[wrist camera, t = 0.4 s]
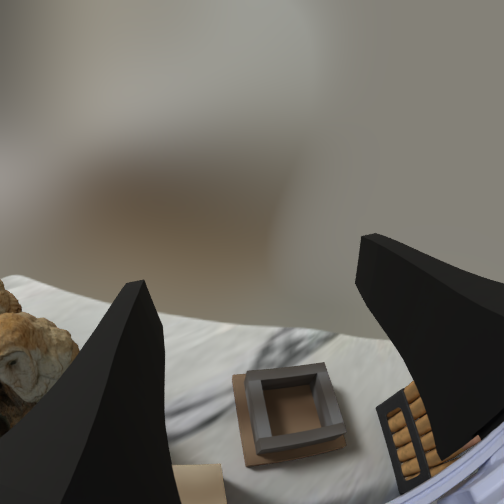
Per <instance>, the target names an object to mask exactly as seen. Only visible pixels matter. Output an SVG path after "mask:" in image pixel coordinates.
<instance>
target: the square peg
mask: <svg viewBox="0 0 504 504" xmlns="http://www.w3.org/2000/svg"><path fill="white" fill-rule="evenodd" d="M172 468H173V472H174V477H175V481H176V485H177V489H178V492H179V496H180V500H181V503H182V504H227V501H226V495H225V488H224V482H223V476H222V469H221V464H204V465H172Z"/></svg>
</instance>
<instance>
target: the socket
mask: <svg viewBox="0 0 504 504" xmlns="http://www.w3.org/2000/svg"><path fill="white" fill-rule="evenodd" d="M232 382H233V389H234V396H235V403H236V410H237V416H238V423H239V429H240V435H241V441H242V447H243V453H244V459H245V465H246V467H249V466H257V465H265V464H271V463H278V462H283V461H289V460H294V459H299V458H304V457H308V456H313V455H317V454H321V453H325V452H329V451H333V450H337V449H340V448H343V447H345V446H347V445H346V442H345V438H344V435H343V434H345V433H346V432H347V431H346V428H345V425H344V422H343V418H342V415H341V412H340V409H339V406H338V403H337V399H336V396H335V393H334V390H333V387H332V384H331V381H330V378H329V375H328V372H327V369H326V366H325V363H324V362H323V363H316V364H308V365H301V366H293V367H284V368H274V369H264V370H251V371H247V373H246V374H237V375H233V377H232Z"/></svg>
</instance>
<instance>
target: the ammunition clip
mask: <svg viewBox="0 0 504 504" xmlns="http://www.w3.org/2000/svg"><path fill="white" fill-rule="evenodd" d="M411 403H412V404H411ZM401 410H402V411H401ZM376 411H377V414H378V417H379V420H380V424H381V427H382V430H383V434H384V437H385V440H386V444H387V447H388V451H389V455H390V458H391V462H392V466H393V469H394V473H395V477H396V481H397V485H398V489H399V493H400V494H401V495H403V494H405V493H407V492H408V491H410V490H412V489H414V488H415V487H417V486H419V485H420V484H422V483H424V482H425V481H427V480H429V479H430V478H432V477H433V476H435V475H436V474H438V473H439V472H441V471H442V470H444V469H445V468H447V467H448V466H449V465H451V464H452V463H454V462H455V461H456V460H458V459H459V458H460V457H459V458H456V459H453V460H451V461H448V460H450V459H452V458H454V457H456V456H457V455H459V454H460V453H461V452H463V451H465V450H467V449H468V448H470V447H472V446H474V445H475V444H477V443H478V442H480V441H481V439H480V437H479V435H477V436H476V437H475V438H474V439H472V440H471V441H470V442H468V443H467V444H466V445H464V446H463V447H462V448H460V449H459V450H458V451H456V452H455V453H453V454H452V455H451V456H449V457H448V458H446V459H445V460H443V461H441V459H440V458H439V456H438V454H437V451H436V446H435V441H434V437H433V433H432V430H431V426H430V422H429V419H428V416H427V413H426V410H425V407H424V405H423V402H422V399H421V397H420V394H419V392H418V390H417V387H416V385H415V383H414V381H412V382H411V383H410V384H409V385H408V386H407V387H405V388H403V389H401V390H400V391H398V392H397V393H396V394H394V395H393V396H391V397H390V398H389V399H387V400H386V401H384V402H383V403H381V404H380V405H378V406H377V407H376ZM418 418H420V419H418ZM416 419H418V420H417V421H415V420H416ZM405 426H407V427H405ZM404 427H405V428H404ZM424 434H425V435H424ZM422 435H424V436H422ZM420 436H422V437H420ZM411 441H412V442H411ZM409 442H410V443H409ZM429 450H430V451H429ZM427 451H429V452H427ZM425 452H427V453H425ZM414 457H415V458H414ZM446 461H448V462H446ZM443 462H446V463H443ZM431 467H433V468H431ZM429 468H431V469H429ZM418 472H420V473H418Z"/></svg>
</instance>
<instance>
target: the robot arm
mask: <svg viewBox="0 0 504 504" xmlns="http://www.w3.org/2000/svg"><path fill="white" fill-rule="evenodd" d="M355 284H356V286H357V288H358V290H359V292H360V294H361V296H362V298H363V300H364V302H365V303H366V305H367V307H368V308H369V310H370V311H371V313H372V314H373V316H374V317H375V319H376V320H377V321H378V323H379V324H380V326H381V327H382V328H383V330H384V331H385V333H386V334H387V336H388V337H389V339H390V340H391V341H392V343H393V344H394V346H395V347H396V349H397V350H398V352H399V353H400V355H401V357H402V358H403V360H404V362H405V364H406V366H407V368H408V370H409V372H410V374H411V376H412V378H413V380H414V383H415V385H416V387H417V390H418V392H419V394H420V397H421V399H422V402H423V405H424V407H425V410H426V413H427V416H428V419H429V422H430V426H431V430H432V433H433V437H434V441H435V446H436V451H437V454H438V456H439V458H440V459H441V461H443V460H445V459H446V458H448V457H449V456H451V455H452V454H453V453H455V452H456V451H458V450H459V449H460V448H462V447H463V446H464V445H466V444H467V443H468V442H470V441H471V440H472V439H474V438H475V437H476V436H477V435H479V437H480V439H481V440H482V441H480V442H479V443H478V444H477V445H476V446H474V447H473V448H472V449H471V450H469V451H468V452H467V453H466V454H464V455H463V456H462V457H460V458H459V459H458V460H456V461H455V462H454V463H452V464H451V465H449V466H448V467H447V468H445V469H444V470H442V471H441V472H439V473H438V474H436V475H435V476H433V477H432V478H430V479H429V480H427V481H425V482H424V483H422V484H420V485H419V486H417V487H415V488H414V489H412V490H410V491H408V492H407V493H405V494H403V495H401V496H399V497H397V498H396V499H394V500H392V501H390V502H388V503H386V504H429V503H431V502H433V501H434V500H436V499H437V498H439V497H440V496H442V495H443V494H444V493H446V492H447V491H448V492H447V493H446V494H445V495H444V496H442V497H441V498H440V499H439V500H438V501H437V504H504V284H503V283H500V282H496V281H493V280H490V279H487V278H484V277H481V276H478V275H475V274H472V273H469V272H466V271H464V270H461V269H459V268H457V267H454V266H452V265H450V264H447V263H445V262H442V261H440V260H438V259H435V258H433V257H431V256H429V255H427V254H424V253H422V252H420V251H418V250H416V249H414V248H411V247H409V246H407V245H405V244H403V243H400V242H398V241H396V240H393V239H391V238H388V237H386V236H383V235H380V234H377V233H374V234H369V235H365V236H361V243H360V251H359V259H358V266H357V273H356V280H355ZM164 386H165V346H164V335H163V325H162V323H161V321H160V318H159V316H158V313H157V311H156V309H155V306H154V304H153V301H152V299H151V296H150V294H149V291H148V289H147V286H146V283H145V281H144V280H140V281H135V282H129V283H126V284H125V286H124V287H123V288H122V290H121V291H120V293H119V294H118V296H117V297H116V299H115V300H114V302H113V303H112V305H111V306H110V308H109V309H108V311H107V312H106V314H105V315H104V317H103V318H102V320H101V321H100V323H99V324H98V326H97V327H96V329H95V330H94V332H93V333H92V335H91V336H90V337H89V339H88V340H87V342H86V343H85V345H84V346H83V348H82V349H81V350H80V352H79V353H78V355H77V356H76V357H75V359H74V360H73V361H72V363H71V364H70V365H69V367H68V368H67V369H66V370H65V372H64V373H63V374H62V375H61V377H60V378H59V379H58V380H57V382H56V383H55V384H54V385H53V386H52V387H51V388H50V390H49V391H48V392H47V393H46V394H45V395H44V396H43V397H42V398H41V399H40V401H39V402H38V403H37V404H36V405H35V406H34V407H33V408H32V409H31V410H30V411H29V412H28V413H27V414H26V415H25V416H24V417H23V418H22V419H21V420H20V421H19V422H18V423H17V424H16V425H15V426H13V427H12V428H11V429H10V430H9V431H8V432H7V433H6V434H4V435H3V436H2V437H1V438H0V504H182V503H181V500H180V496H179V492H178V489H177V485H176V481H175V477H174V472H173V468H172V463H171V458H170V452H169V447H168V440H167V433H166V426H165V413H164ZM478 467H479V470H478V472H477V473H476V474H474V475H472V476H471V477H469V478H467V479H466V480H464V479H465V478H466V477H467V476H469V475H470V474H471V473H472V472H474V471H475V470H476V469H477V468H478ZM462 480H464V481H462ZM461 481H462V482H461ZM460 482H461V483H460ZM458 483H459V484H458ZM457 484H458V485H457ZM454 486H455V487H454Z"/></svg>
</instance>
